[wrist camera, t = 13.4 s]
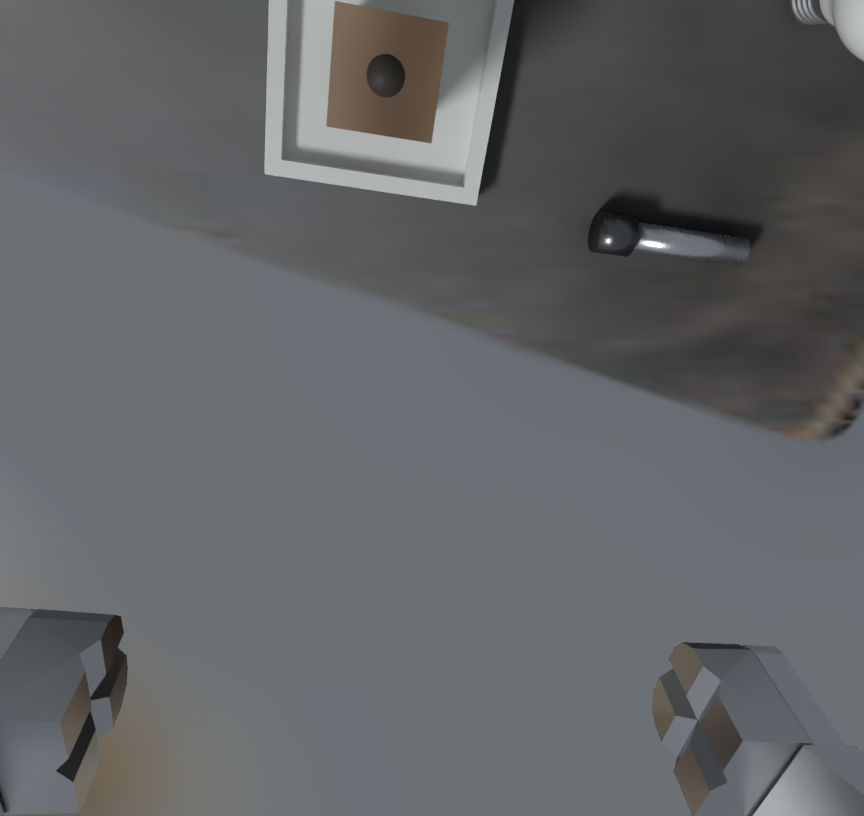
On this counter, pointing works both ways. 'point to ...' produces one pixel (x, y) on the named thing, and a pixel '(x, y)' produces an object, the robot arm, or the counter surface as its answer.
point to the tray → (375, 154)
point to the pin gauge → (663, 240)
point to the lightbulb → (835, 19)
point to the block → (385, 72)
